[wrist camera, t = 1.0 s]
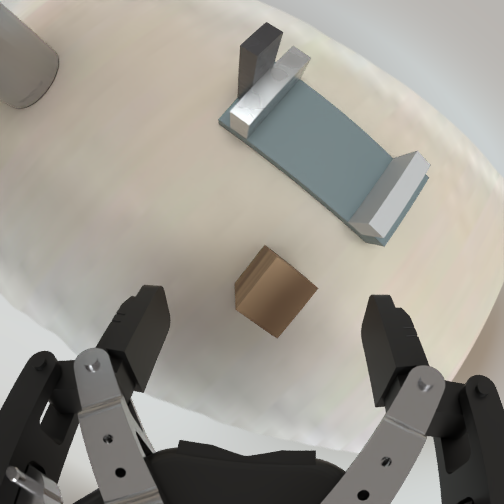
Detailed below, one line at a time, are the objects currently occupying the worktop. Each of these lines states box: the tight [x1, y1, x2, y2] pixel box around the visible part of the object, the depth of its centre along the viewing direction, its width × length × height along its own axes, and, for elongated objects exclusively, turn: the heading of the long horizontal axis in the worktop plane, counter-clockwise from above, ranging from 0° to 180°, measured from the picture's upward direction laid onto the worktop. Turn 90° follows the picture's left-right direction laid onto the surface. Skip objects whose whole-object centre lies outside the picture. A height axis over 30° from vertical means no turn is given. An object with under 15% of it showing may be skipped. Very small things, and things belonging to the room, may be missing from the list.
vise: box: [218, 62, 431, 246], centre depth 27 cm, size 20×9×6 cm, turn 52°
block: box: [235, 245, 318, 338], centre depth 27 cm, size 4×5×9 cm
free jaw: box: [230, 22, 311, 139], centre depth 23 cm, size 4×9×10 cm, turn 142°
